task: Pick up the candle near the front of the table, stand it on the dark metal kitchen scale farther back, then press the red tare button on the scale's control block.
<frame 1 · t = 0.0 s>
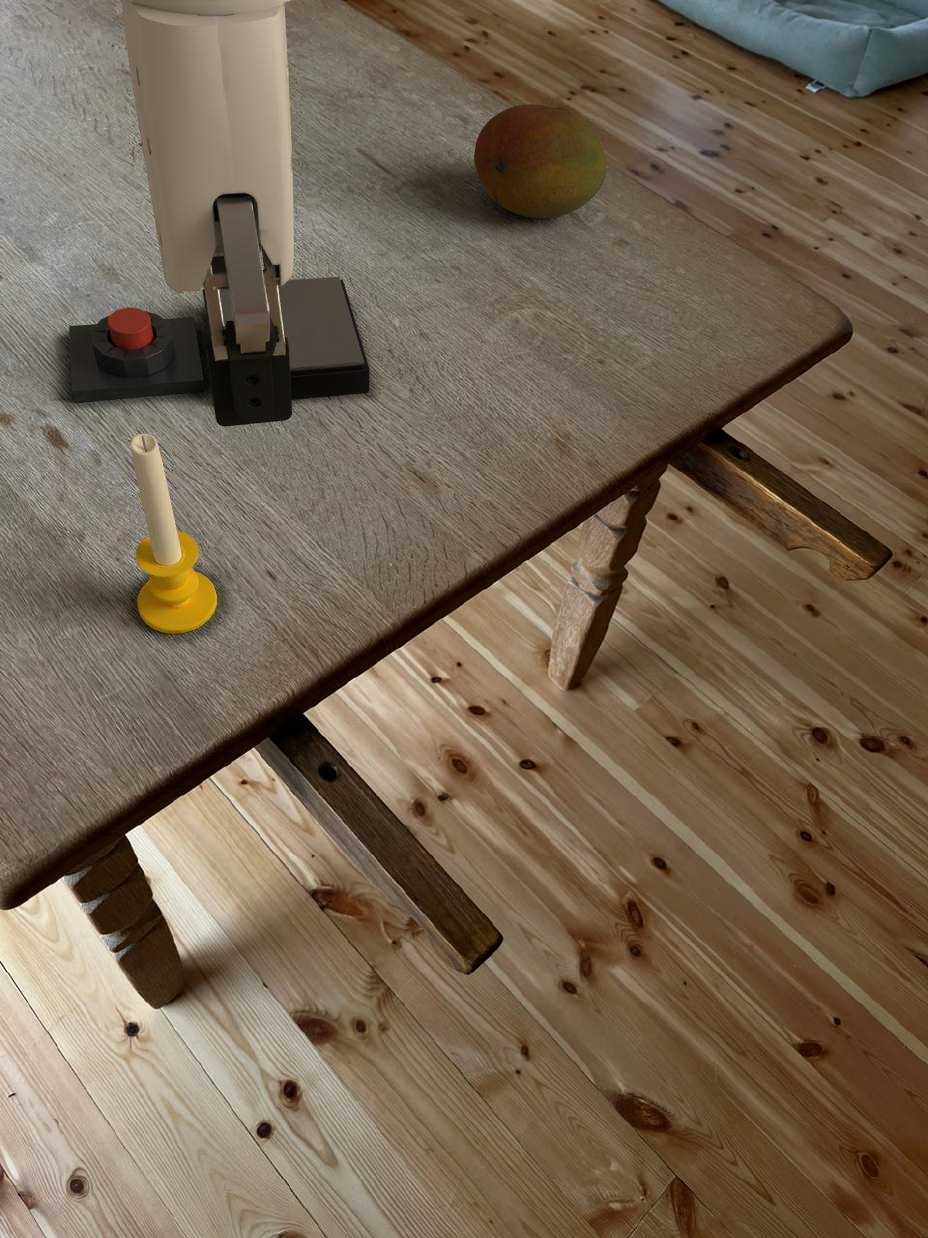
hand: (240, 345, 46), 26 cm above the table, tool pointing down, fingers open, 9 cm apart
fruit: (535, 207, 102), on the table
scale: (285, 351, 85), on the table
candle: (178, 605, 69), on the table
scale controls: (137, 363, 82), on the table
tare button: (130, 329, 79), point 3 cm above the table, slide at 0.1 cm
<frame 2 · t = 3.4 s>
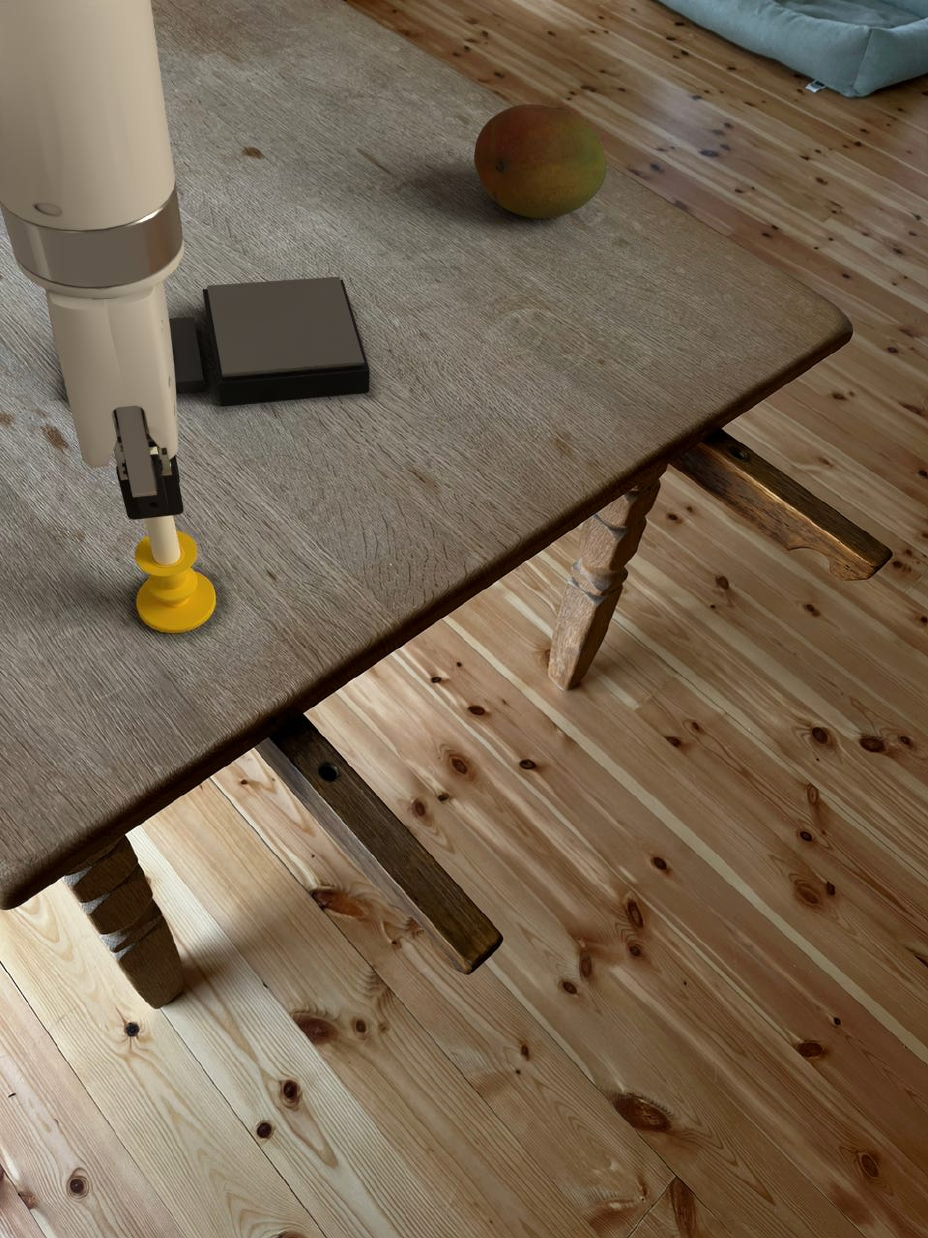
hand: (154, 497, 60), 11 cm above the table, tool pointing down, fingers closed on candle
candle: (177, 604, 69), on the table, touching gripper
everything else where it was.
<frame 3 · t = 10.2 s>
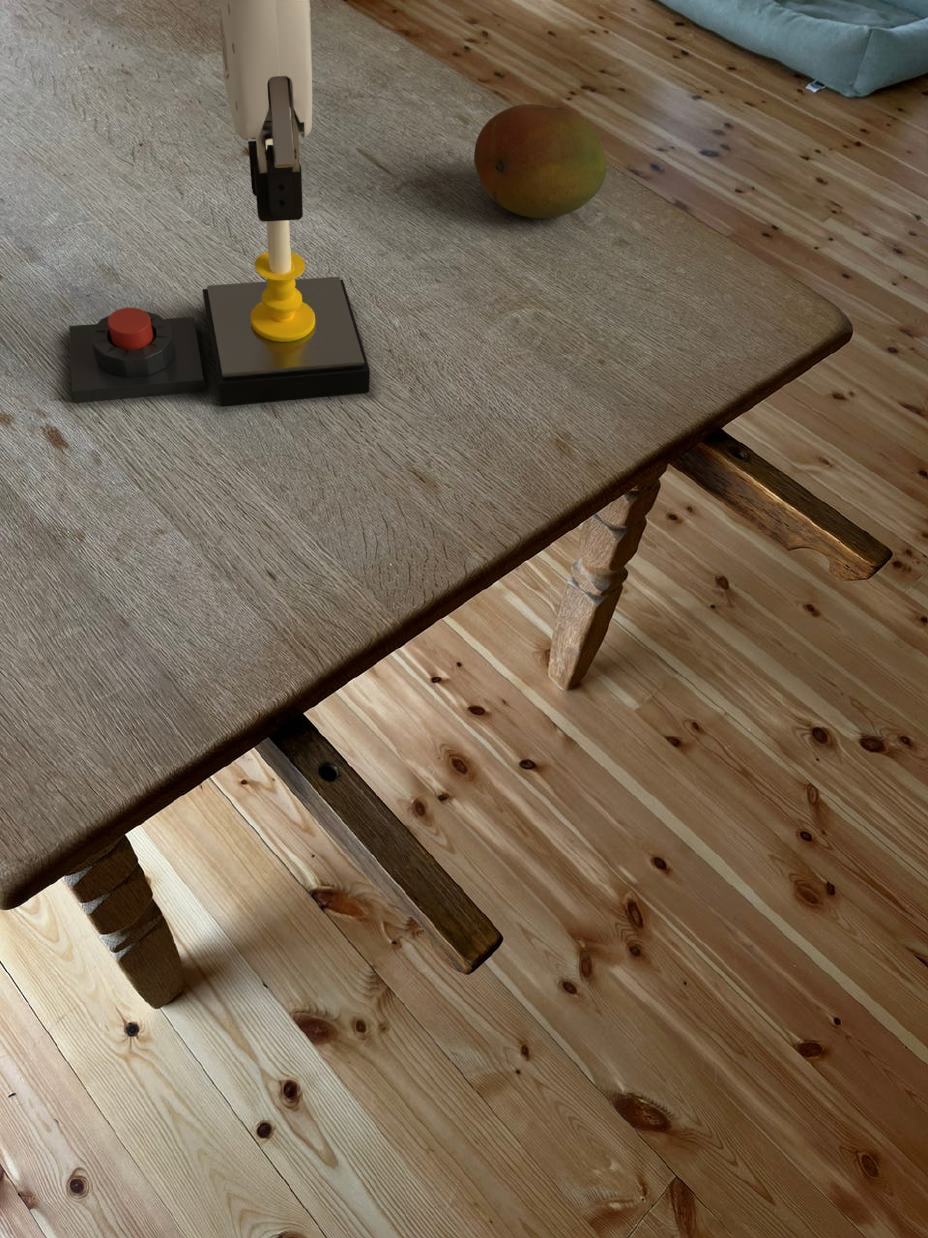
hand: (277, 204, 74), 14 cm above the table, tool pointing down, fingers closed
candle: (283, 323, 83), point 3 cm above the table, touching scale
everything else where it was.
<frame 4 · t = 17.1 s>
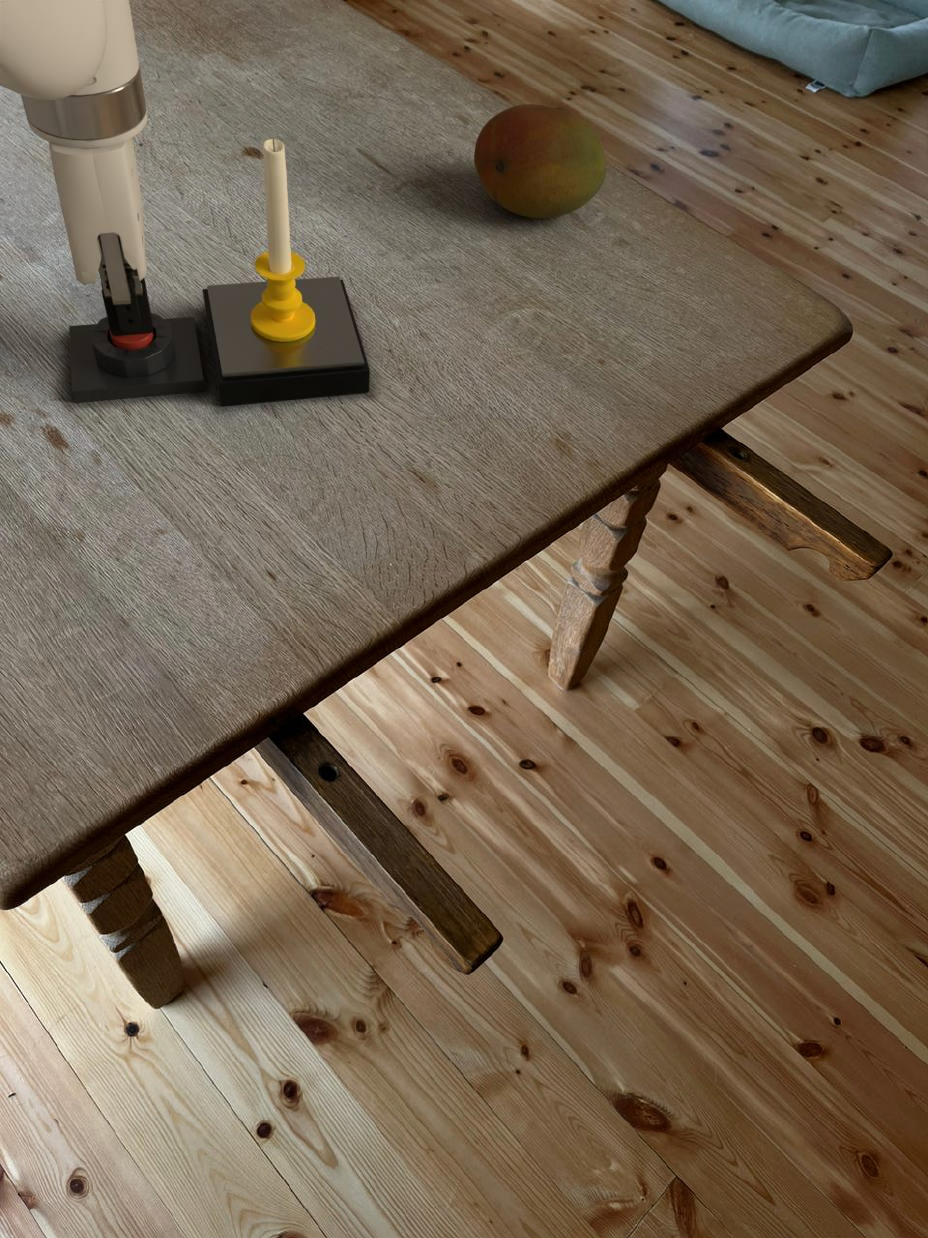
hand: (132, 327, 79), 3 cm above the table, tool pointing down, fingers closed
tare button: (132, 338, 80), point 3 cm above the table, slide at -0.8 cm, touching gripper
everything else where it was.
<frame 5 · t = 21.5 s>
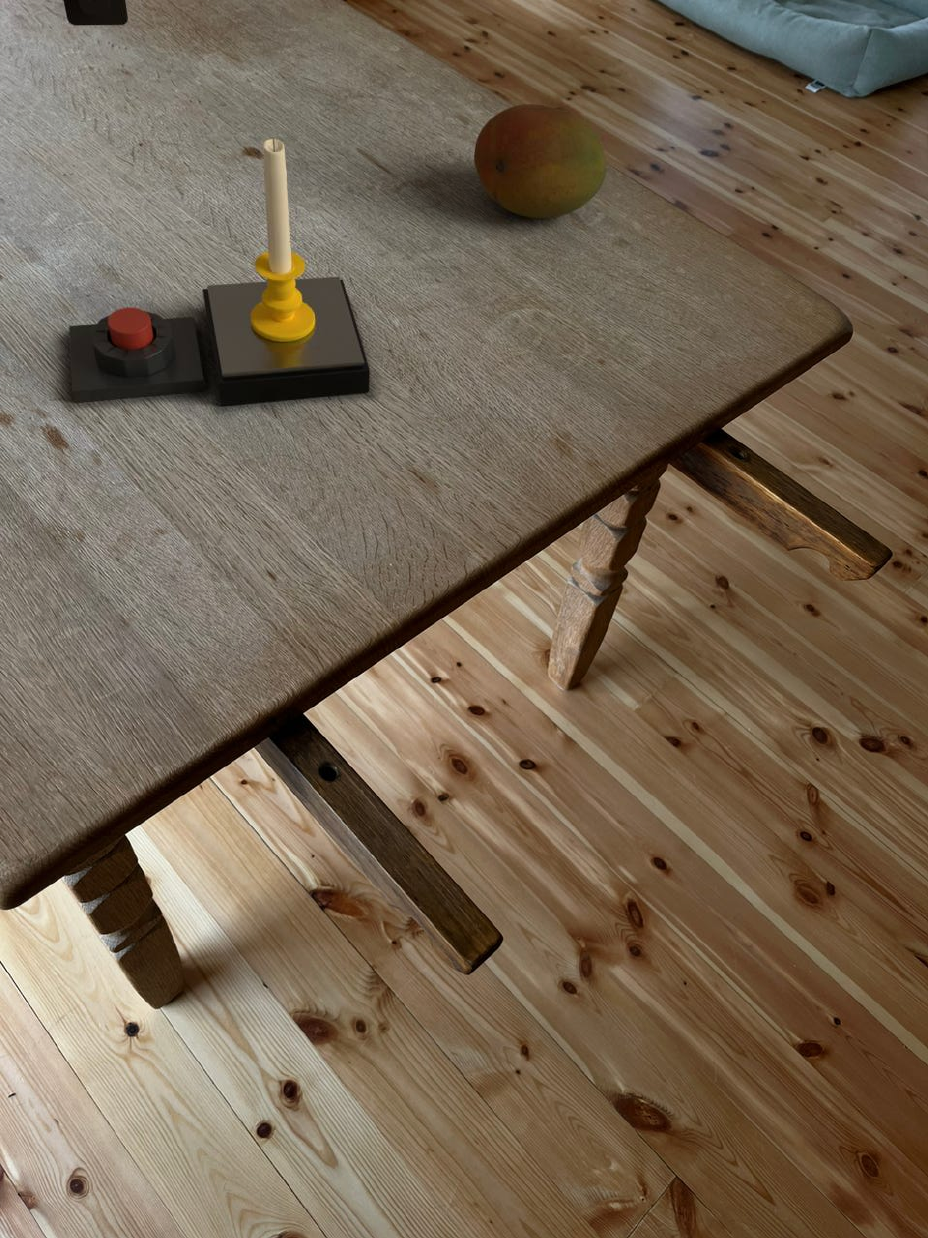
hand: (98, 17, 56), 29 cm above the table, tool pointing down, fingers closed
tare button: (130, 329, 79), point 3 cm above the table, slide at 0.1 cm
everything else where it was.
at the end: candle 0.1 cm off-centre on the scale, point 2.8 cm above the scale's base; candle tilted 0°; tare button pushed in 1.1 cm at the most during the clip, back to where it started at the end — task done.
